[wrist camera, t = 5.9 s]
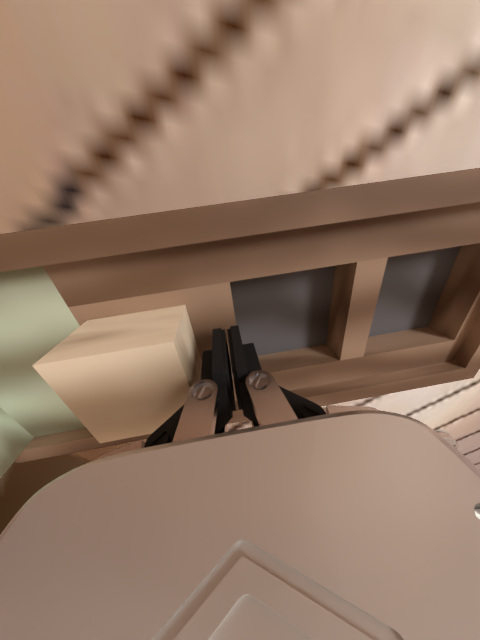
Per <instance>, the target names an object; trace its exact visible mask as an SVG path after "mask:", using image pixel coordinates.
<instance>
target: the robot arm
mask: <svg viewBox="0 0 480 640" xmlns="http://www.w3.org/2000/svg"><path fill="white" fill-rule="evenodd" d="M227 332H228V341H229V350H230V356H229V351H228V345H227V340H226V334H225V330H221V328H217V329H213V330H212V350H206V351H203V355H202V367H201V379H200V381H198V382H196V383H195V384H193V386H192V387H191V388H190V390H189V392H188V395H187V398H186V401H185V404H184V405H183V406H182V407H181V408H180V409H178V410H177V411H176V412H175V413H174V414H173V415H172V416H171V417H170V418H169V419H167V420H166V421H165V422H164V423H163V424H162V425H161V426H160V427H159V428H158V429H156V430H155V431H154V432H153V433H152V434H151V435H150V436H149V438H148V439H147V440H145V441H143V440H142V439H141V440H139V441H136V442H134V443H131V444H129V445H126V446H124V447H121V448H119V449H116V450H114V451H111V452H109V453H106V454H104V455H101V456H99V457H97V458H95V459H93V460H92V461H90V462H88V463H86V464H84V465H81V466H79V467H77V468H74V469H73V470H71V471H69V472H67V473H65V474H63V475H61V476H59V477H58V478H56V479H54V480H53V481H51V482H50V483H48V484H47V485H45V486H44V487H43V488H41V489H40V490H39V491H38V492H36V493H35V494H34V495H33V496H32V497H31V498H30V499H29V500H28V501H27V502H26V503H25V504H24V505H23V507H22V508H21V509H20V510H19V511H18V512H17V514H16V515H15V516H14V517H13V519H12V520H11V521H10V523H9V524H8V525H7V527H6V528H5V529H4V531H3V532H2V533H1V535H0V640H480V470H479V469H478V468H477V467H476V466H475V465H474V464H473V463H472V462H470V461H469V460H468V459H467V458H466V457H465V456H464V455H463V454H462V453H461V452H459V451H458V450H457V448H458V445H457V442H456V441H455V440H454V439H453V438H452V437H451V436H450V435H449V434H446V433H443V432H435V431H434V430H433V429H431V428H430V427H428V426H427V425H425V424H424V423H422V422H420V421H418V420H416V419H413V418H411V417H408V416H405V415H401V414H397V413H391V412H385V411H380V410H377V409H375V408H372V407H360V406H331V405H327V407H326V408H322V407H321V406H319V405H318V404H316V403H314V402H312V401H310V400H308V399H306V398H303V397H301V396H299V395H297V394H295V393H293V392H291V391H289V390H287V389H284V388H282V387H280V386H278V384H277V382H276V380H275V379H274V377H273V376H272V375H271V374H270V373H269V372H267V371H264V370H262V369H261V366H260V362H259V359H258V356H257V353H256V349H255V346H254V343H248V344H242V340H241V335H240V331H239V326H238V325H236V326H230V329H227ZM230 359H231V362H230ZM231 368H232V370H231ZM232 374H233V379H232ZM233 380H234V386H235V391H236V396H237V402H238V407H239V410H242V409H243V415H244V416H245V417H246V418H248V419H249V420H251V424H252V428H246V429H241V430H235V431H230V432H227V423H228V422H229V421H230V419H231V418H233V412H232V411H236V406H235V397H234V388H233Z"/></svg>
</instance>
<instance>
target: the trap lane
mask: <svg viewBox="0 0 480 640" xmlns="http://www.w3.org/2000/svg"><path fill="white" fill-rule="evenodd" d="M180 305H185V306H186V309H187V312H188V316H189V319H190V323H191V326H192V330H193V333H194V336H195V340H196V343H197V347H198V350H199V354H200V357H201V360H202V355H203V351H206V350H212V330H213V329H217V328H221V330H225V334H226V340H227V345H228V351H229V356H230V350H229V341H228V332H227V329H230V326H236V325H238V326H239V331H240V335H241V340H242V344H248V343H254V346H255V349H256V353H257V356H258V359H259V362H260V366H261V369H262V370H264V371H267V372H269V373H270V374H271V375H272V376H273V377H274V379H275V380H276V382H277V384H278V386H280V387H282V388H284V389H287V390H289V391H291V392H293V393H295V394H297V395H299V396H301V397H303V398H306V399H308V400H310V401H312V402H314V403H316V404H318V405H319V406H325V405H331V404H336V403H341V402H347V401H352V400H357V399H363V398H368V397H373V396H379V395H384V394H389V393H395V392H400V391H405V390H411V389H416V388H421V387H427V386H432V385H437V384H443V383H448V382H453V381H459V380H464V379H469V378H474V376H475V375H476V373H477V372H478V370H479V369H480V168H476V169H468V170H461V171H454V172H447V173H440V174H432V175H425V176H418V177H411V178H403V179H396V180H389V181H382V182H375V183H367V184H360V185H353V186H346V187H338V188H331V189H324V190H317V191H310V192H302V193H295V194H288V195H281V196H273V197H266V198H259V199H252V200H244V201H237V202H230V203H223V204H216V205H208V206H201V207H194V208H187V209H179V210H172V211H165V212H158V213H150V214H143V215H136V216H129V217H122V218H114V219H107V220H100V221H93V222H85V223H78V224H71V225H64V226H57V227H49V228H42V229H35V230H28V231H20V232H13V233H6V234H0V478H1V477H2V476H3V475H4V473H5V472H6V471H7V469H8V468H9V467H10V466H11V465H12V463H13V462H16V463H21V462H27V461H31V460H37V459H43V458H48V457H53V456H59V455H64V454H69V453H75V452H80V451H85V450H91V449H96V448H101V447H107V446H112V445H117V444H123V443H128V442H133V441H139V440H141V439H142V440H144V439H148V438H149V436H150V435H151V434H147V435H142V436H136V437H131V438H126V439H121V440H115V441H110V442H105V443H99V442H98V441H97V440H96V438H95V437H94V436H93V435H92V434H91V433H90V432H89V430H88V429H87V428H86V427H85V426H84V425H83V424H82V422H81V421H80V420H79V419H78V418H77V417H76V416H75V414H74V413H73V412H72V411H71V410H70V409H69V408H68V406H67V405H66V404H65V403H64V402H63V401H62V400H61V398H60V397H59V396H58V395H57V394H56V393H55V391H54V390H53V389H52V388H51V387H50V386H49V385H48V383H47V382H46V381H45V380H44V379H43V378H42V377H41V375H40V374H39V373H38V372H37V371H36V370H35V369H34V367H33V366H32V365H33V364H35V363H36V362H37V361H38V360H40V359H41V358H42V357H43V356H44V355H46V354H47V353H48V352H49V351H50V350H52V349H53V348H54V347H55V346H57V345H58V344H59V343H60V342H61V341H63V340H64V339H65V338H66V337H67V336H69V335H70V334H71V333H72V332H74V331H75V330H76V329H77V328H78V327H80V326H81V325H82V324H83V323H84V322H86V321H88V320H94V319H100V318H106V317H112V316H119V315H125V314H131V313H137V312H143V311H149V310H156V309H162V308H168V307H174V306H180ZM230 362H231V359H230ZM231 370H232V368H231ZM232 379H233V374H232ZM233 388H234V397H235V406H236V411H232V412H233V418H231V419H230V421H229V422H228V423H227V424H229V423H235V422H240V421H245V420H249V419H248V418H246V417H245V416H244V415H243V409H242V410H239V407H238V402H237V396H236V391H235V386H234V380H233Z"/></svg>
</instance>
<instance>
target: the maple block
mask: <svg viewBox="0 0 480 640" xmlns="http://www.w3.org/2000/svg"><path fill="white" fill-rule="evenodd" d="M32 366H33V367H34V369H35V370H36V371H37V372H38V373H39V374H40V375H41V377H42V378H43V379H44V380H45V381H46V382H47V383H48V385H49V386H50V387H51V388H52V389H53V390H54V391H55V393H56V394H57V395H58V396H59V397H60V398H61V400H62V401H63V402H64V403H65V404H66V405H67V406H68V408H69V409H70V410H71V411H72V412H73V413H74V414H75V416H76V417H77V418H78V419H79V420H80V421H81V422H82V424H83V425H84V426H85V427H86V428H87V429H88V430H89V432H90V433H91V434H92V435H93V436H94V437H95V438H96V440H97V441H98V442H99V443H105V442H110V441H115V440H121V439H126V438H131V437H136V436H142V435H147V434H152V433H153V432H154V431H155V430H156V429H158V428H159V427H160V426H161V425H162V424H163V423H164V422H165V421H166V420H167V419H169V418H170V417H171V416H172V415H173V414H174V413H175V412H176V411H177V410H178V409H180V408H181V407H182V406H183V405H184V404H185V401H186V398H187V395H188V392H189V390H190V388H191V387H192V386H193V384H195V383H196V382H198V381H200V379H201V367H202V360H201V357H200V354H199V350H198V347H197V343H196V340H195V336H194V333H193V330H192V326H191V323H190V319H189V316H188V312H187V309H186V306H185V305H180V306H174V307H168V308H162V309H156V310H149V311H143V312H137V313H131V314H125V315H119V316H112V317H106V318H100V319H94V320H88V321H86V322H84V323H83V324H82V325H81V326H80V327H78V328H77V329H76V330H75V331H74V332H72V333H71V334H70V335H69V336H67V337H66V338H65V339H64V340H63V341H61V342H60V343H59V344H58V345H57V346H55V347H54V348H53V349H52V350H50V351H49V352H48V353H47V354H46V355H44V356H43V357H42V358H41V359H40V360H38V361H37V362H36V363H35V364H33V365H32Z"/></svg>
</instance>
